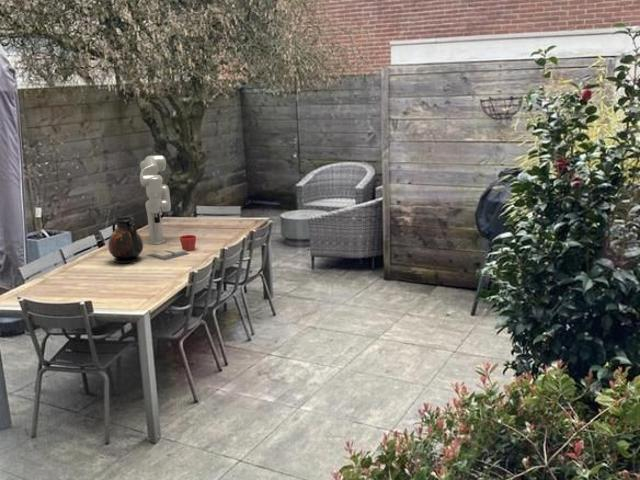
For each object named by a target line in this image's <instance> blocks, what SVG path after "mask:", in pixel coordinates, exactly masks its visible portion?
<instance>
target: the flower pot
mask: <svg viewBox="0 0 640 480" xmlns="http://www.w3.org/2000/svg"><path fill="white" fill-rule="evenodd" d="M179 240H180V241H179V242H180V245H181V247H182V248H181V249H182V250H185V252H191V251H194V250H195V247H196V240H197V236H196V235H193V234H186V235H181V236H179Z"/></svg>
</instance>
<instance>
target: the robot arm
mask: <svg viewBox="0 0 640 480" xmlns="http://www.w3.org/2000/svg"><path fill="white" fill-rule="evenodd" d="M139 166H140V173H139V181H140V185H141V186H142V187H145V192H146V197H147V198H148V200H146V202H145V210H146V214H147V215H146V216H147V224H148V236H147V237H146V239H148V240H147V244H149V245H160V244H164V243H166V239H165V238H164V234H163V222H162V221H163V220H162V217H161V216H163V213H169V212H170V211H171V209H172V203H171V195H170V194H171V193H170V188H169V185H167V184H163V176H162V175H160V174H158V173H159V172H163V171H165V170H166V168H167V159H166V157H165V156H164V155H162V154H161V155H160V154H158V155H157V154H156V155H148V156H146V157H145V158H144V160H141V161H140V163H139Z"/></svg>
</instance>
